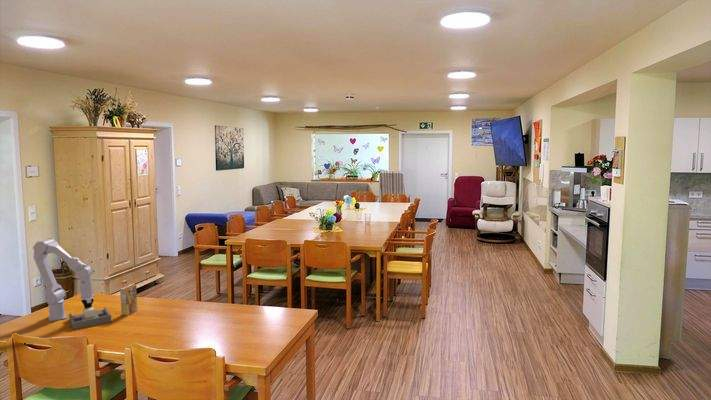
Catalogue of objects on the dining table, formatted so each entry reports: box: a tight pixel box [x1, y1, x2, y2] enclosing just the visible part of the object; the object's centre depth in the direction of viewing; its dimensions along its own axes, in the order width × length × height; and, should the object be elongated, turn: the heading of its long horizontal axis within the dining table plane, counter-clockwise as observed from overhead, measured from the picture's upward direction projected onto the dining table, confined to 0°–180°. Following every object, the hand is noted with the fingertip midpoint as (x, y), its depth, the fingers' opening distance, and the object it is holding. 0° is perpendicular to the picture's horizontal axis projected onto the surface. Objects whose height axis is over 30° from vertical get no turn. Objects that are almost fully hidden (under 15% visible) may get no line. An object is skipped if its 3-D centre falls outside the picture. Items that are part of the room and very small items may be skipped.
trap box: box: [68, 306, 112, 330], centre depth 266 cm, size 17×18×4 cm
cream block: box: [82, 306, 96, 318], centre depth 267 cm, size 5×5×4 cm
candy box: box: [119, 283, 139, 316], centre depth 277 cm, size 9×4×15 cm, turn 166°
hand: (88, 312), depth 271 cm, fingers closed
